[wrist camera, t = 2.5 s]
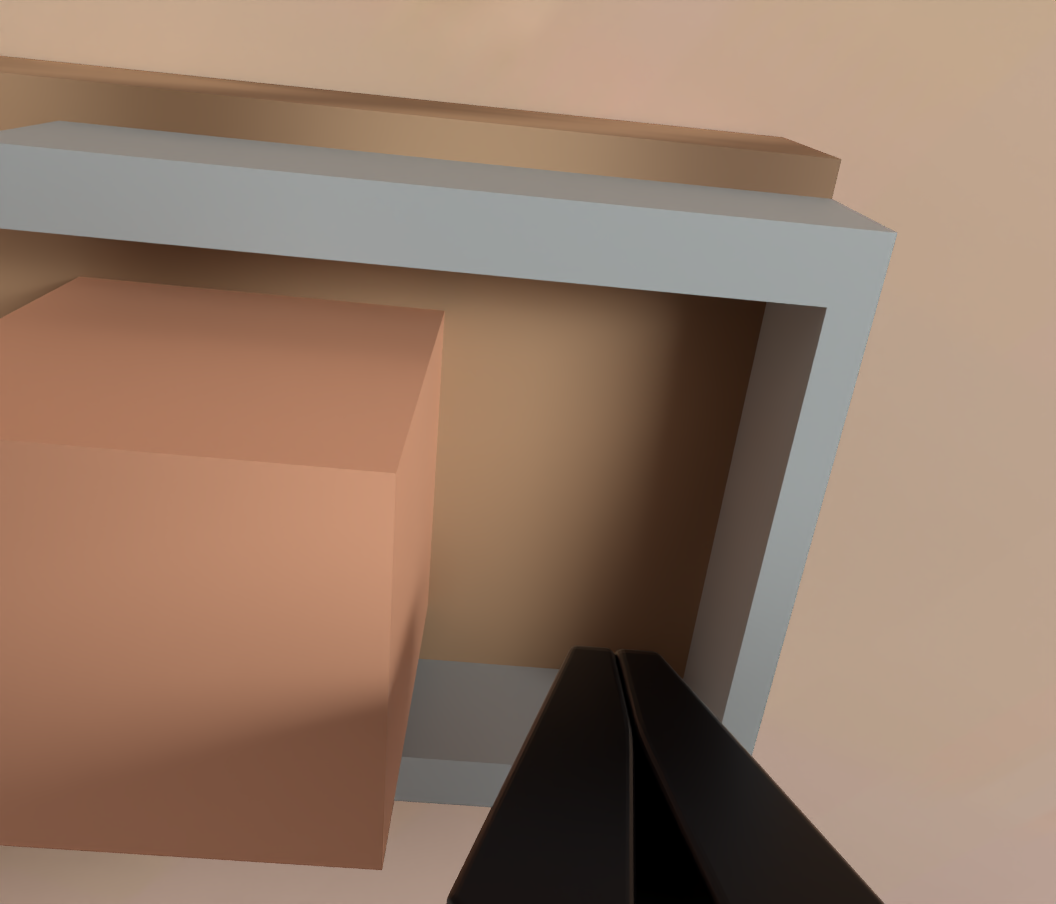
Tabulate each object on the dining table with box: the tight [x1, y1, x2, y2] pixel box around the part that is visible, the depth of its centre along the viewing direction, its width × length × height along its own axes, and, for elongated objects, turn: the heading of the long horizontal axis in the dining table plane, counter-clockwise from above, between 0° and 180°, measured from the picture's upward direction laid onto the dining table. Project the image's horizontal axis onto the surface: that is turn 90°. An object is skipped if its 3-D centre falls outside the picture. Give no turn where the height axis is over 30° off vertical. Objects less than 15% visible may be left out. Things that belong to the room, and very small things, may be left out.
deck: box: [0, 56, 841, 679], centre depth 13 cm, size 20×9×2 cm, turn 84°
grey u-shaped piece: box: [0, 121, 897, 807], centre depth 11 cm, size 9×8×2 cm
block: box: [0, 277, 445, 870], centre depth 10 cm, size 4×4×4 cm
